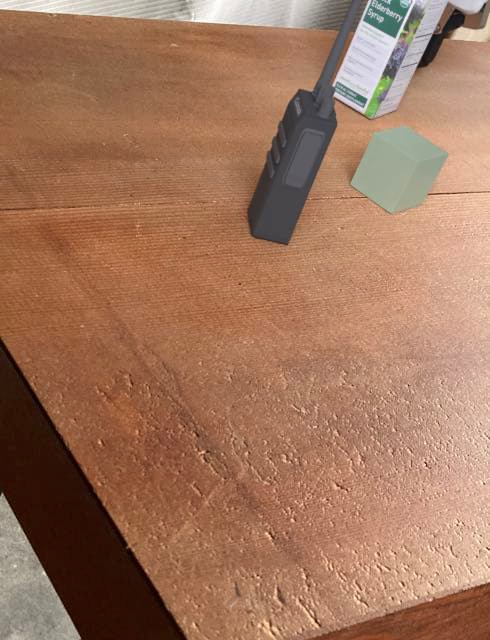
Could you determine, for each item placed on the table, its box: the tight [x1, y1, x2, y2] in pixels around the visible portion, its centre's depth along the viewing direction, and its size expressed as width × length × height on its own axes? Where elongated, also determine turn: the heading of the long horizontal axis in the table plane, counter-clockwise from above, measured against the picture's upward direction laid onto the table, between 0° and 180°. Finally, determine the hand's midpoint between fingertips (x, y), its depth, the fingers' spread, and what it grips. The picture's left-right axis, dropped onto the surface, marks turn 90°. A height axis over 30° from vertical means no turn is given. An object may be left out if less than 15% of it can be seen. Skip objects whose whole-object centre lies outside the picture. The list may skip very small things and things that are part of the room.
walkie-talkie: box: [247, 0, 363, 246], centre depth 72 cm, size 5×3×20 cm
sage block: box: [349, 125, 450, 215], centre depth 87 cm, size 5×5×5 cm
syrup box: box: [331, 0, 449, 120], centre depth 97 cm, size 6×6×14 cm
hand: (415, 64), depth 111 cm, fingers closed
